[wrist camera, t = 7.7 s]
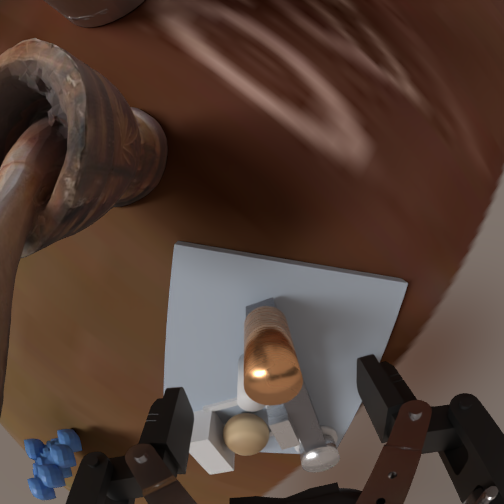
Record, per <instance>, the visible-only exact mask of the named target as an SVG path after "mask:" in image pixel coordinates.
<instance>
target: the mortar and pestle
mask: <svg viewBox="0 0 504 504" xmlns="http://www.w3.org/2000/svg"><path fill="white" fill-rule="evenodd" d="M167 153H168V148H167V139H166V136H165V133H164V131H163V129H162V128H161V126H160V124H159V123H158V122H157V121H156V120H155V119H154V118H153V117H151V116H150V115H148V114H147V113H145V112H144V111H142V110H140V109H138V108H133V107H130V106H129V104H128V103H127V101H126V100H125V98H124V97H123V95H122V94H121V93H120V91H119V90H118V89H117V88H116V87H115V86H114V85H113V84H112V83H111V82H110V81H109V80H107V79H106V78H105V77H104V76H103V75H101V74H100V73H99V72H97V71H96V70H94V69H92V68H90V67H89V66H88V65H87V64H85V63H83V62H82V61H80V60H79V59H77V58H75V57H74V56H73V55H71V54H70V53H69V52H67V51H66V50H64V49H62V48H60V47H58V46H56V45H54V44H52V43H48V42H45V41H41V40H38V39H36V38H33V39H29V40H25V41H22V42H20V43H18V44H17V45H16V46H14V47H13V48H9V49H8V50H7V51H5V52H4V53H3V54H1V55H0V416H1V410H2V405H3V391H4V382H5V375H6V367H7V356H8V348H9V335H10V324H11V308H12V298H13V290H14V283H15V276H16V272H17V268H18V264H19V261H20V258H24V257H27V256H29V255H31V254H33V253H35V252H37V251H39V250H41V249H43V248H45V247H47V246H49V245H51V244H53V243H54V242H56V241H58V240H61V239H63V238H66V237H69V236H71V235H74V234H76V233H78V232H80V231H81V230H83V229H85V228H87V227H88V226H90V225H91V224H93V223H94V222H96V221H97V220H98V219H100V218H101V217H102V216H103V215H105V214H106V213H107V212H108V211H109V210H110V209H111V208H113V207H122V206H125V205H129V204H131V203H133V202H135V201H137V200H140V199H142V198H143V197H145V196H146V195H147V194H149V193H150V192H151V191H152V190H153V189H154V188H155V187H156V186H157V185H158V183H159V181H160V179H161V177H162V175H163V172H164V170H165V166H166V160H167Z"/></svg>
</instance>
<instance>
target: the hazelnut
mask: <svg viewBox="0 0 504 504" xmlns="http://www.w3.org/2000/svg"><path fill="white" fill-rule="evenodd" d="M223 439H224V442H225V444H226V446H227V447H228V448H229V449H230V450H231V451H233V452H234V453H236V454H239V455H253V454H256V453H258V452H260V451H261V450H262V449H263V448H264V447H265V446H266V445H267V443H268V440H269V428H268V426H267V424H266V423H265V421H264V420H263V419H262V418H260V417H259V416H257V415H255V414H251V413H241V414H237V415H235V416H233V417H232V418H230V419H229V420H228V421H227V423H226V424H225V426H224V429H223Z"/></svg>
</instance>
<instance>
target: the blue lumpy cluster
mask: <svg viewBox="0 0 504 504" xmlns="http://www.w3.org/2000/svg"><path fill="white" fill-rule="evenodd" d="M57 431H58V432H57V433H58V438H55V439H51V441H47V442H46V443H47V445H44V444H43V442H42V441H41V440H39V439H27V440H24V444H25V450H26V453H27V455H28V456H29V458H31V459H33V460H35V463H34V464H33V468H34V469H33V474H34V478H30V479H28V484H29V488H30V491H31V492H32V494H33V496H34V497H36V498H39V499H41V500H49V499H54V498H56V496H55V492H54V489H53V488H57V487H62V486H66V485H65V480H64V478H68V477H71V476H72V471H71V468H70V467H73V466H76V460H75V457H74V453H73V452H78V451H82V446H81V442H80V438H79V436H78V435H77V434H76V432H75V431H74V430H72V429H62V430H57Z"/></svg>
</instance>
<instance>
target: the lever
mask: <svg viewBox="0 0 504 504" xmlns="http://www.w3.org/2000/svg"><path fill="white" fill-rule="evenodd" d="M244 390H245V392H246V394H247V395H248V397H249V398H250V399H252V400H253V401H255V402H257V403H259V404H263V405H267V413H268V424H269V427H270V429H271V431H272V433H273V435H274V436H275V438H276V440H277V442H278V444H279V446H280V447H281V449H282V450H284V449H288V448H291V447H295V446H298V445H299V453H300V458H301V464H302V468H303V469H304V470H306V471H308V472H321V471H325V470H328V469H330V468H331V467H333V466H335V465H336V464H337V463H338V462H339V459H340V456H339V453H338V450H337V447H336V444H335V440H334V438H333V437H332V436H331V435H328V434H323V431H322V428H321V426H320V423H319V420H318V417H317V415H316V412H315V409H314V407H313V404H312V401H311V398H310V396H309V393H308V390H307V388H306V385H305V382H304V379H303V377H302V374H301V370H300V367H299V363H298V359H297V356H296V352H295V348H294V345H293V341H292V338H291V334H290V330H289V327H288V323H287V320H286V317H285V315H284V314H283V313H282V312H281V311H280V310H279V309H277V306H276V304H275V301H274V298H273V297H272V298H269V299H266V300H263V301H260V302H257V303H254V304H251V305H248V306H246V319H245V322H244ZM299 439H300V441H301V443H300V441H299Z"/></svg>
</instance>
